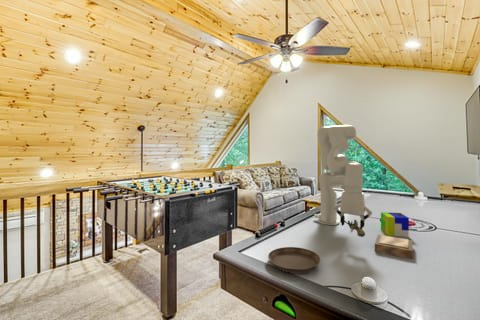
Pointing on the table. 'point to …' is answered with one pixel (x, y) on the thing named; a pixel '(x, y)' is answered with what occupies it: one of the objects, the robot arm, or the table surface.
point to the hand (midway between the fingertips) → (352, 226)
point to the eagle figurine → (355, 226)
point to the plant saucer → (294, 259)
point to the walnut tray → (394, 246)
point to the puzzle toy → (394, 224)
